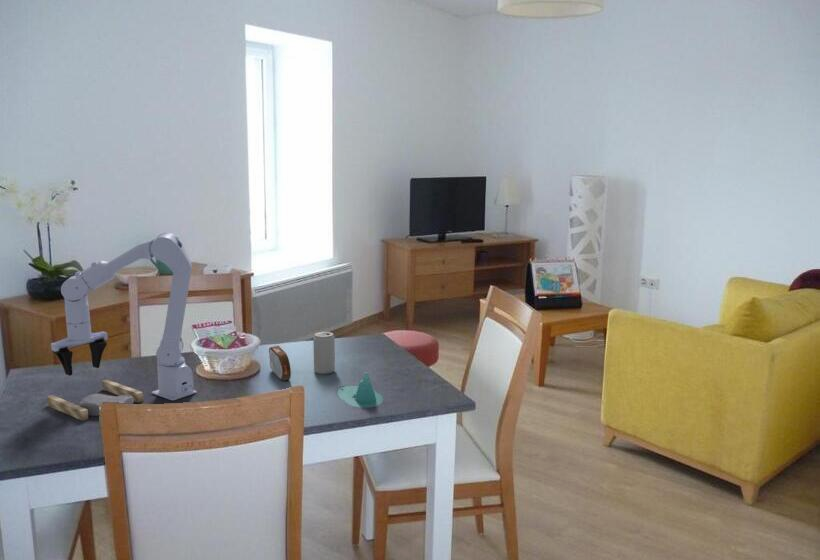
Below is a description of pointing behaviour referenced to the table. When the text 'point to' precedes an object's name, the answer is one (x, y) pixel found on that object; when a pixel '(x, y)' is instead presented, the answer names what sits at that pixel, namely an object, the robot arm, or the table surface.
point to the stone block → (96, 399)
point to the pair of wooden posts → (82, 412)
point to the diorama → (360, 394)
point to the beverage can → (324, 352)
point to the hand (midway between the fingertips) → (82, 370)
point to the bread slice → (279, 363)
